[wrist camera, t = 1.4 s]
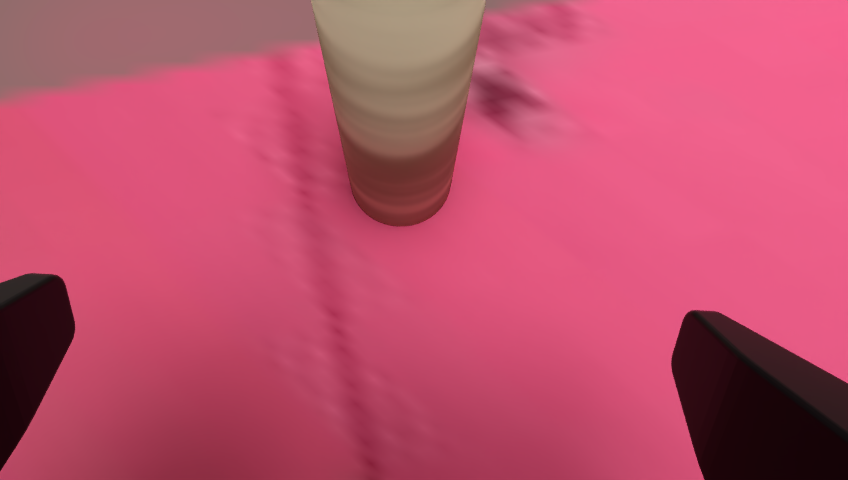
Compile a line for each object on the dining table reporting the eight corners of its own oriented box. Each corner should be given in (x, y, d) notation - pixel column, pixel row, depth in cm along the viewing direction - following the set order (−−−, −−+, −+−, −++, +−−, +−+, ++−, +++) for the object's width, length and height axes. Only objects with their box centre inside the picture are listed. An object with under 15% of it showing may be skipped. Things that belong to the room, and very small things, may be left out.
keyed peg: (449, 228, 24) (495, 21, 12) (346, 223, 23) (287, 8, 12) (452, 114, 25) (498, -173, 13) (356, 109, 25) (313, -185, 13)
